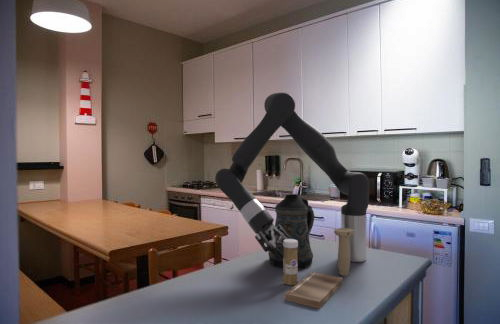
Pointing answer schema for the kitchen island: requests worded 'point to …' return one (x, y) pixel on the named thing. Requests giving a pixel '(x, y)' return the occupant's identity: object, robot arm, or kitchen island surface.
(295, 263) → the sprinkles bottle
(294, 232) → the beer stein
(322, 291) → the walnut board
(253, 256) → the kitchen island surface
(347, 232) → the handle
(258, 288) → the kitchen island surface
